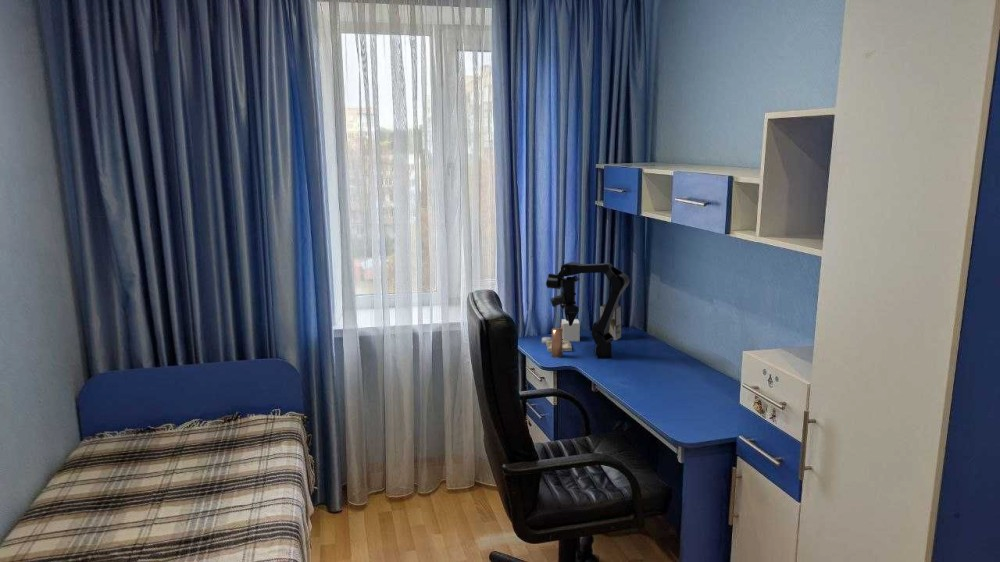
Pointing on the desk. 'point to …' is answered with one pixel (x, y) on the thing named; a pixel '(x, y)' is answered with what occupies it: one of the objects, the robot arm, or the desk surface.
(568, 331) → the block
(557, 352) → the copper cylinder
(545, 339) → the flattened gray dome
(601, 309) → the coffee box
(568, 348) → the tray
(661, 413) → the desk surface
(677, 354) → the desk surface
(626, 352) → the desk surface
